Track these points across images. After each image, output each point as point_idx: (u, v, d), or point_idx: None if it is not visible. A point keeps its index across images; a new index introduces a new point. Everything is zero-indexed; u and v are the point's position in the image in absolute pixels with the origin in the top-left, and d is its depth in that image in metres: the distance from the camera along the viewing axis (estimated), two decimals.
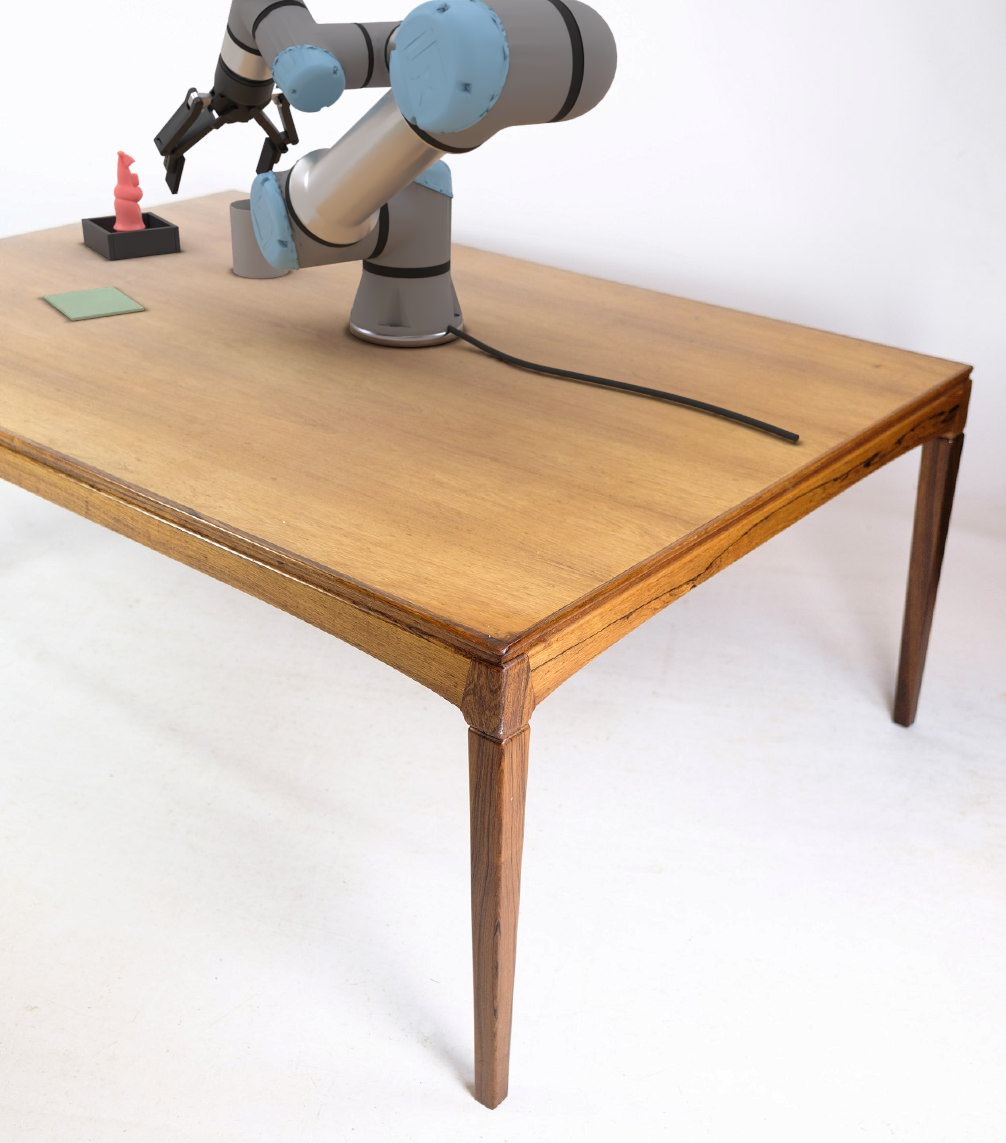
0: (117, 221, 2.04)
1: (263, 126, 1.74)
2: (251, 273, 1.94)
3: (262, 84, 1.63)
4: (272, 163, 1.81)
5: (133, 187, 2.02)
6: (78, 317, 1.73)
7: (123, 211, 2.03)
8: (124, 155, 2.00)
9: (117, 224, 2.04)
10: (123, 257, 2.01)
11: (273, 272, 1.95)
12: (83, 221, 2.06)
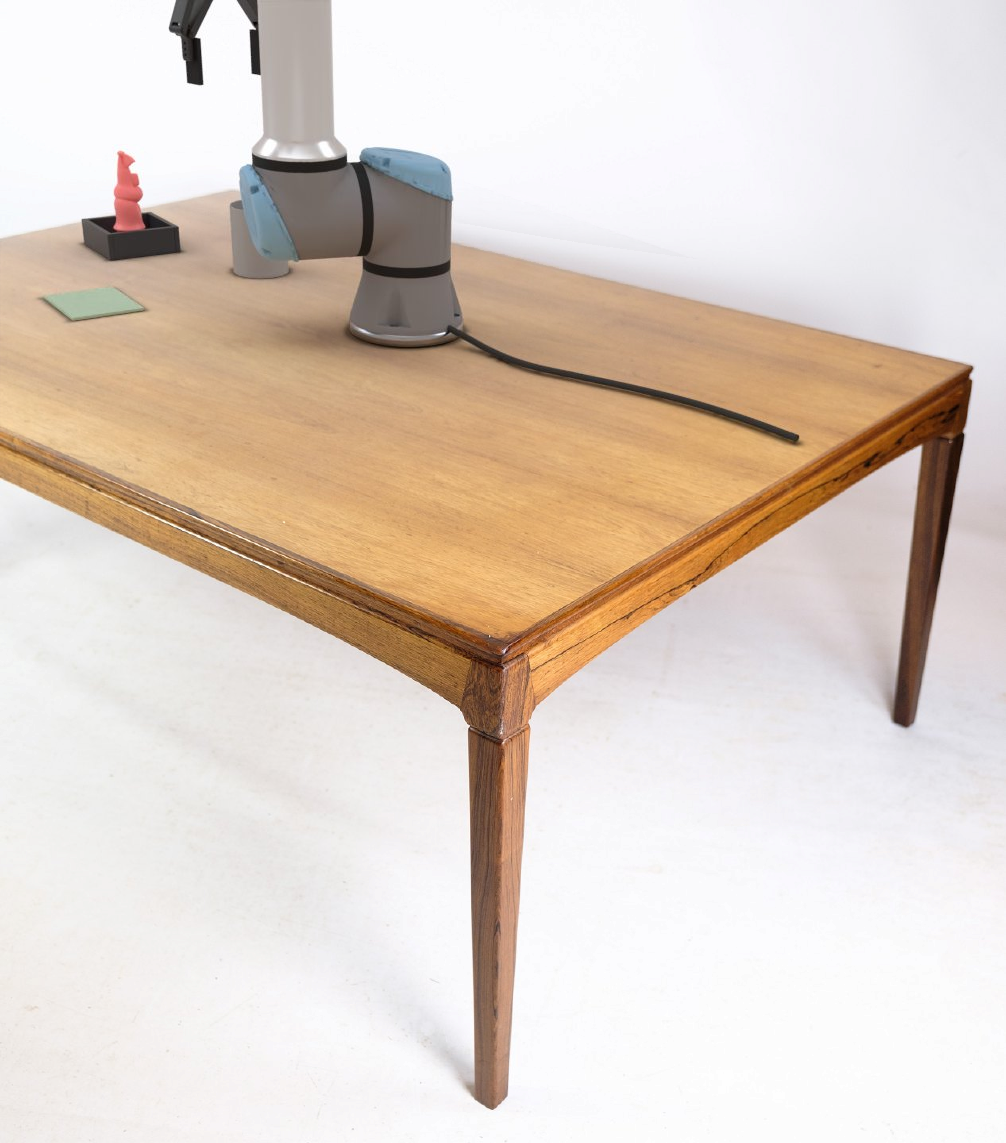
0: (117, 221, 2.04)
1: None
2: (251, 273, 1.94)
3: None
4: None
5: (133, 187, 2.02)
6: (78, 317, 1.73)
7: (123, 211, 2.03)
8: (124, 155, 2.00)
9: (117, 224, 2.04)
10: (123, 257, 2.01)
11: (273, 272, 1.95)
12: (83, 221, 2.06)
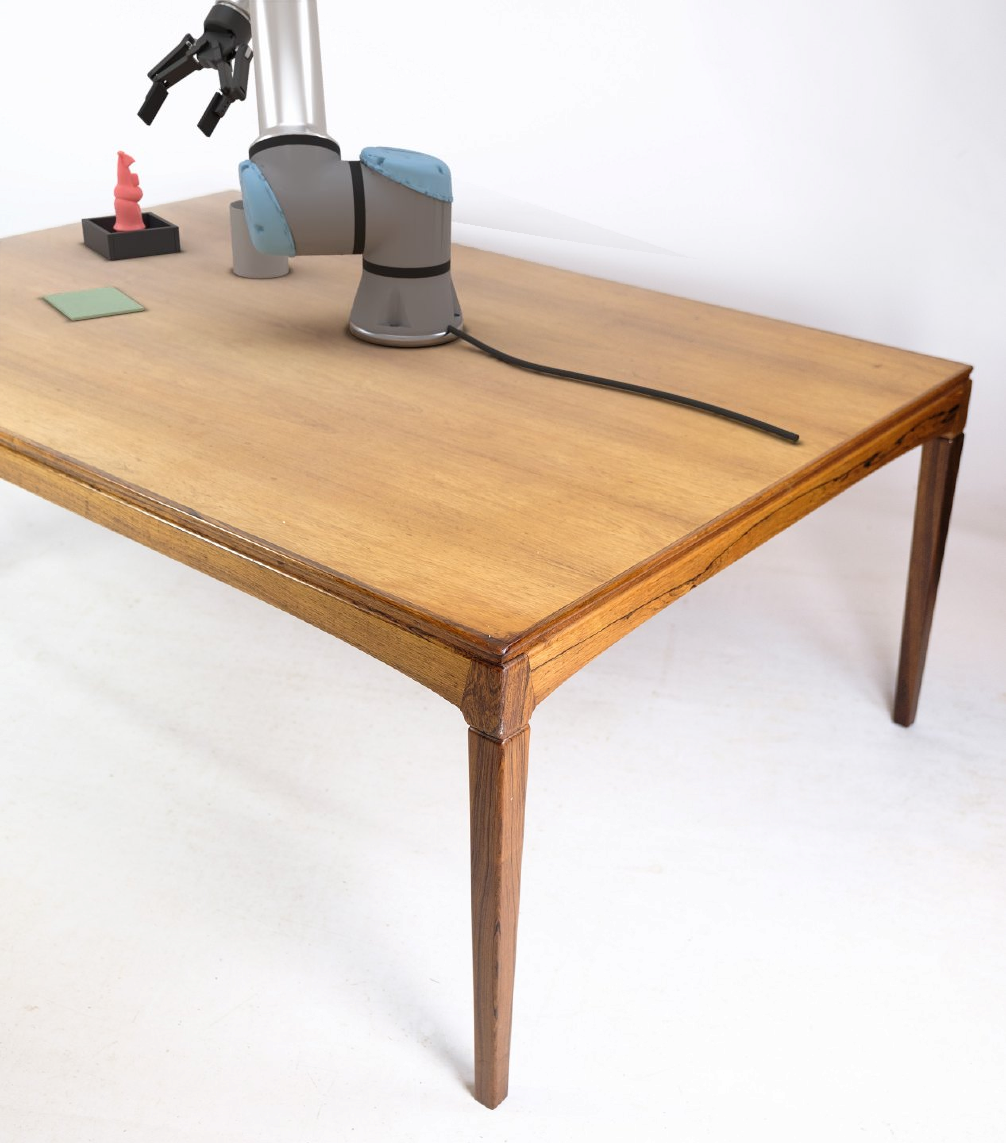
0: (117, 221, 2.04)
1: (218, 66, 2.06)
2: (251, 273, 1.94)
3: (223, 4, 2.07)
4: (211, 104, 2.03)
5: (133, 187, 2.02)
6: (78, 317, 1.73)
7: (123, 211, 2.03)
8: (124, 155, 2.00)
9: (117, 224, 2.04)
10: (123, 257, 2.01)
11: (273, 272, 1.95)
12: (83, 221, 2.06)
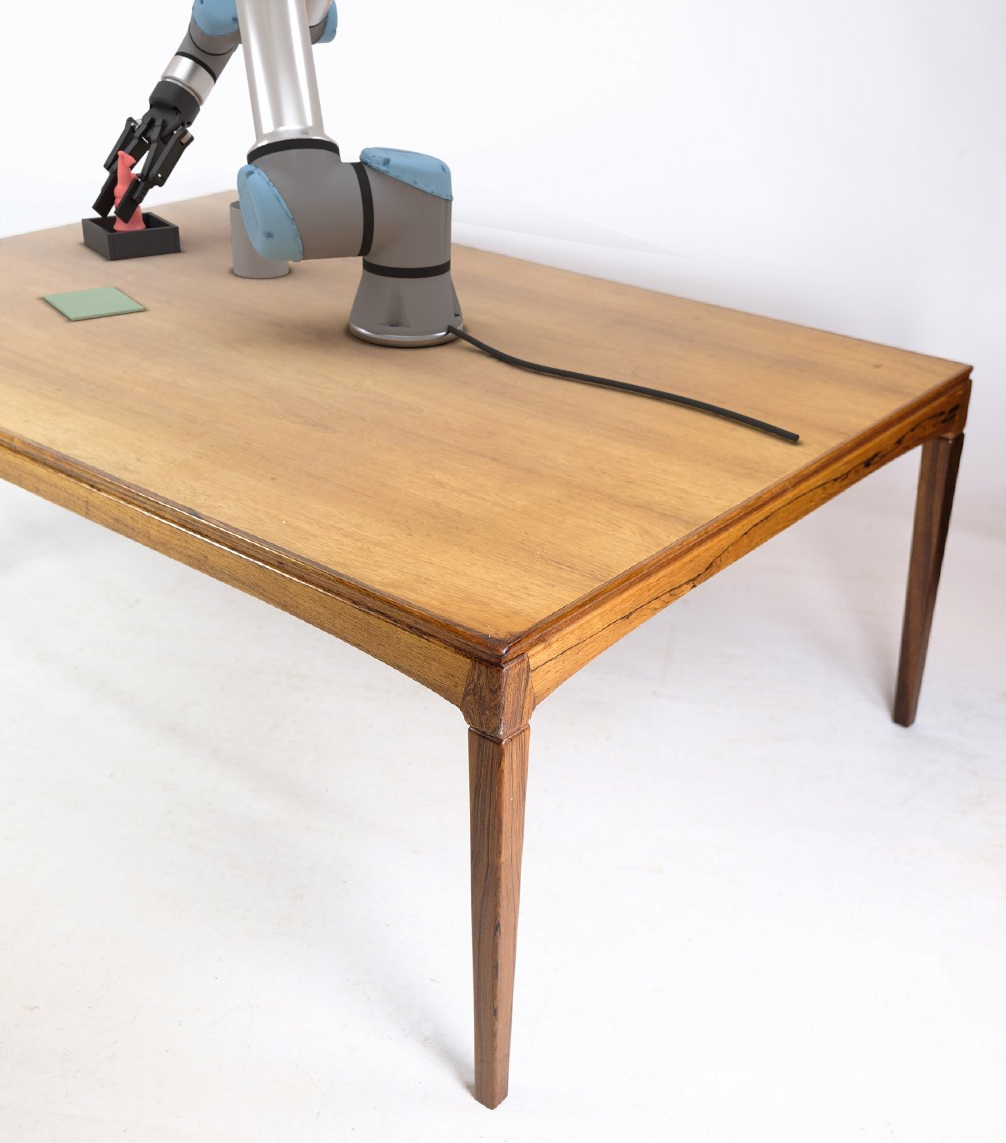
0: (117, 221, 2.04)
1: (152, 146, 2.02)
2: (251, 273, 1.94)
3: (168, 81, 2.03)
4: (128, 190, 2.00)
5: None
6: (78, 317, 1.73)
7: None
8: (125, 155, 2.00)
9: (118, 224, 2.04)
10: (123, 257, 2.01)
11: (273, 272, 1.95)
12: (83, 221, 2.06)
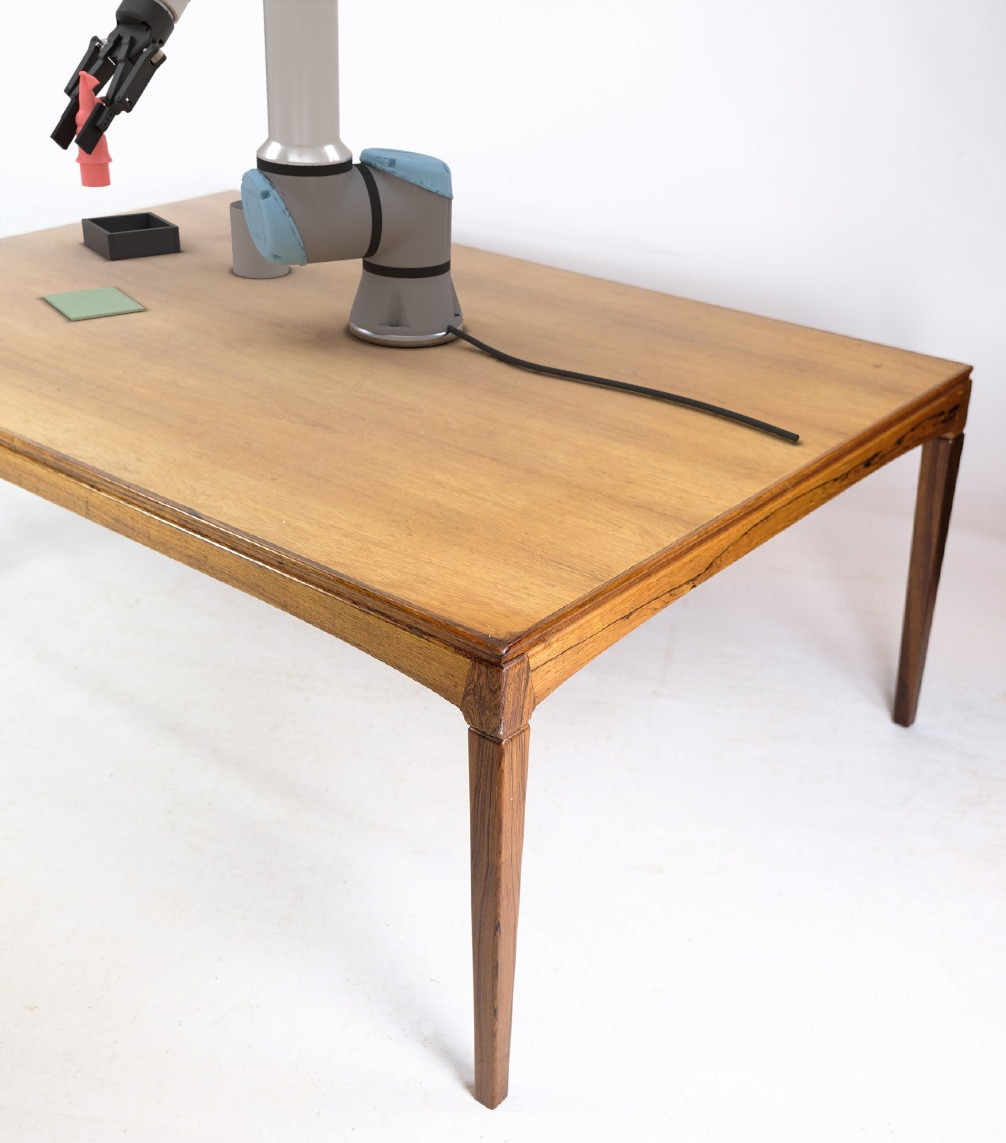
0: (80, 153, 1.79)
1: (118, 67, 1.77)
2: (251, 273, 1.94)
3: None
4: (91, 116, 1.75)
5: None
6: (78, 317, 1.73)
7: None
8: (87, 76, 1.75)
9: (80, 156, 1.79)
10: (123, 257, 2.01)
11: (273, 272, 1.95)
12: (83, 221, 2.06)
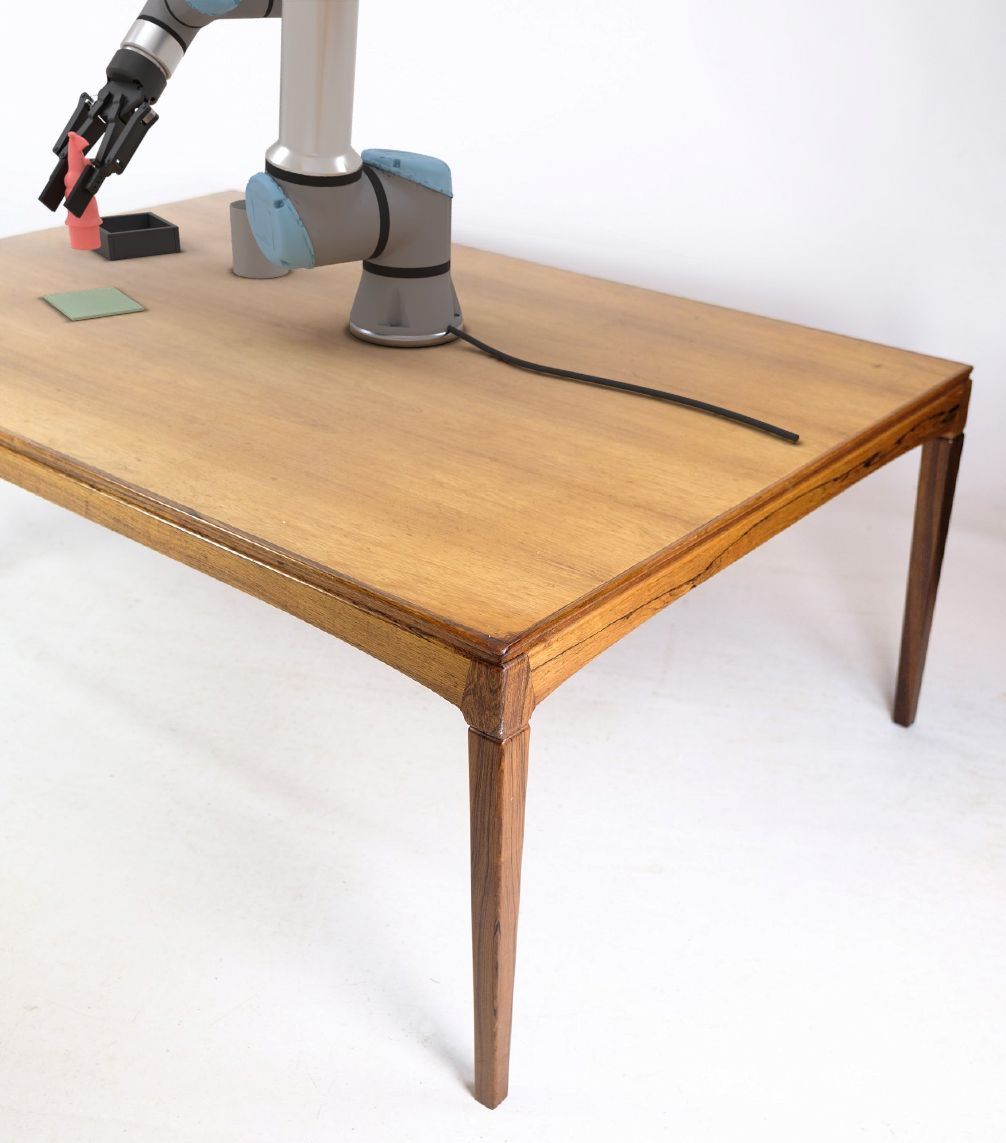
0: (69, 215, 1.73)
1: (109, 127, 1.71)
2: (251, 273, 1.94)
3: (128, 49, 1.72)
4: (81, 178, 1.69)
5: None
6: (78, 317, 1.73)
7: None
8: (76, 137, 1.69)
9: (69, 218, 1.73)
10: (123, 257, 2.01)
11: (273, 272, 1.95)
12: None
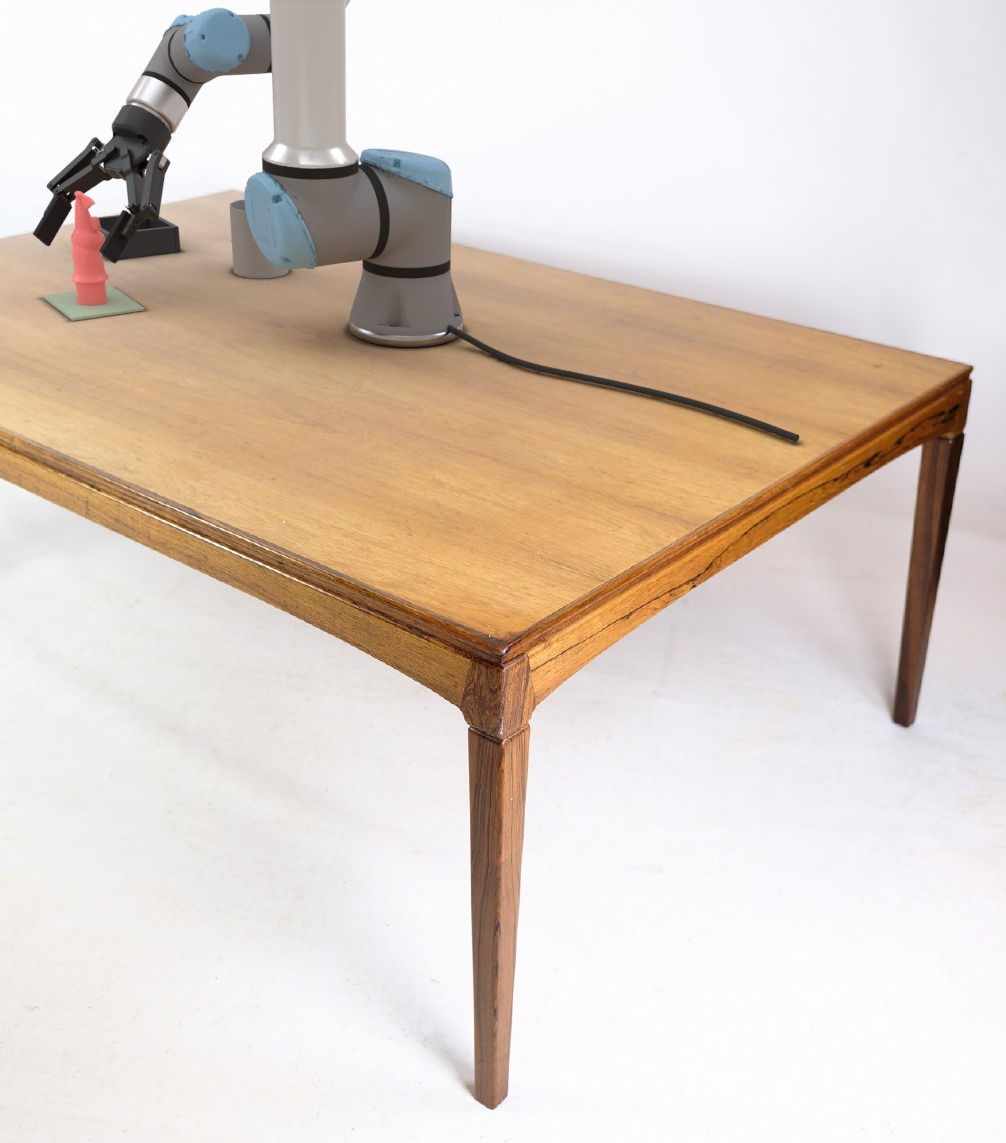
0: (75, 271, 1.77)
1: (127, 178, 1.73)
2: (251, 273, 1.94)
3: (133, 105, 1.75)
4: (116, 224, 1.71)
5: (93, 233, 1.75)
6: (78, 317, 1.73)
7: (82, 260, 1.75)
8: (82, 196, 1.72)
9: (76, 275, 1.77)
10: (123, 257, 2.01)
11: (273, 272, 1.95)
12: None
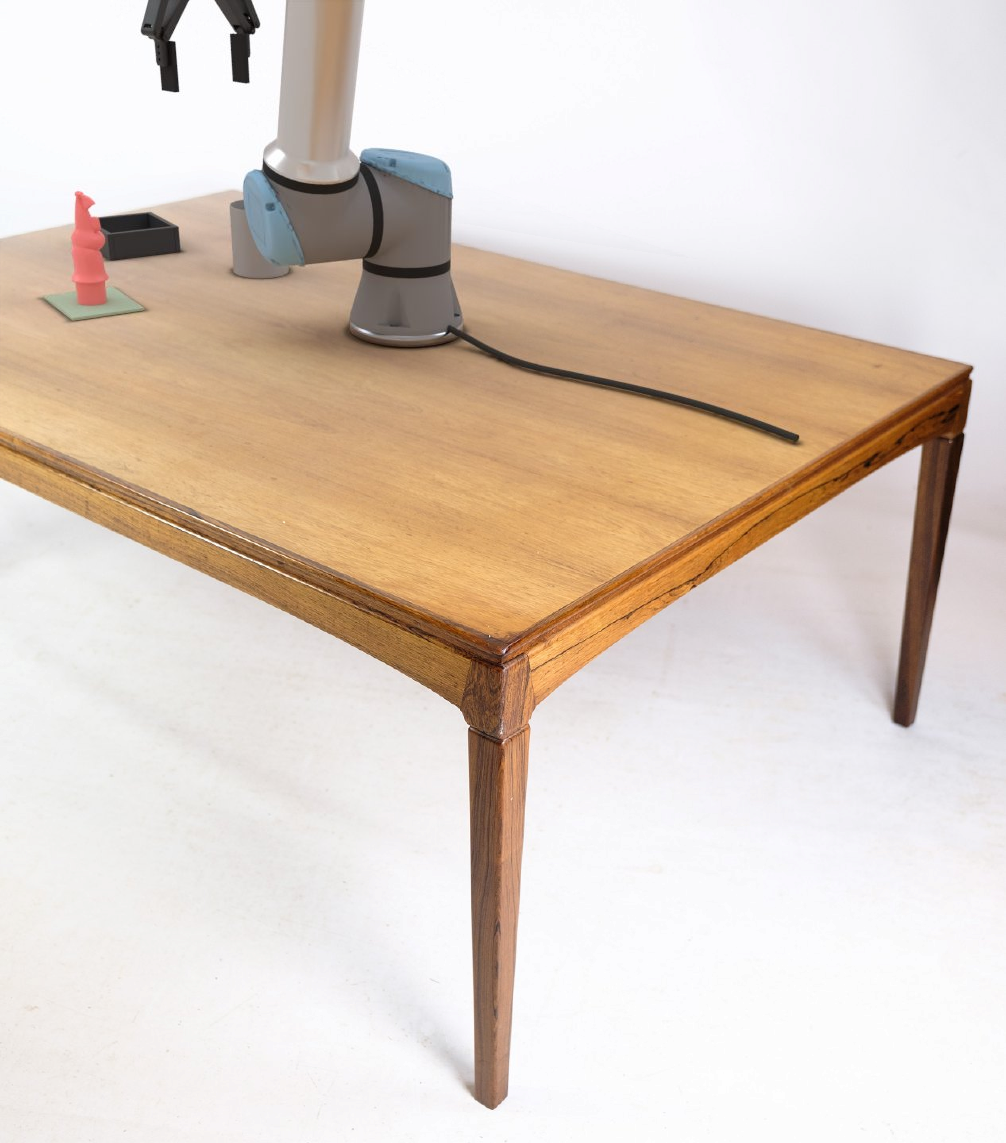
0: (75, 271, 1.77)
1: (227, 0, 1.81)
2: (251, 273, 1.94)
3: None
4: (246, 52, 1.86)
5: (93, 233, 1.75)
6: (78, 317, 1.73)
7: (82, 260, 1.75)
8: (82, 196, 1.72)
9: (76, 275, 1.77)
10: (123, 257, 2.01)
11: (273, 272, 1.95)
12: None
